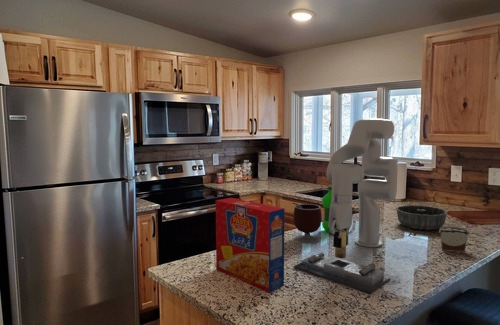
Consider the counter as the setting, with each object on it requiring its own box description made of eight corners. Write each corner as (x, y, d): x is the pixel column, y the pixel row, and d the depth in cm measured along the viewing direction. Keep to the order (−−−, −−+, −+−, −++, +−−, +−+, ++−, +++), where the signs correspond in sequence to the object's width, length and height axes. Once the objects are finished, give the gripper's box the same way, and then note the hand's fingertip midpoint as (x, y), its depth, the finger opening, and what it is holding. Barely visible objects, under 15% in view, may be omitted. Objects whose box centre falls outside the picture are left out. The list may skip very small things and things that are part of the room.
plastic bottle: (332, 235, 183) (333, 188, 181) (317, 230, 192) (318, 185, 189) (344, 232, 189) (345, 186, 187) (329, 227, 197) (330, 184, 195)
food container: (464, 247, 164) (465, 226, 163) (468, 252, 158) (469, 230, 157) (435, 245, 167) (436, 225, 166) (438, 249, 161) (439, 228, 160)
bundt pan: (387, 226, 202) (387, 209, 201) (407, 218, 219) (408, 202, 218) (435, 236, 182) (436, 217, 181) (453, 227, 199) (454, 209, 198)
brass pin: (338, 254, 136) (339, 228, 135) (347, 256, 133) (348, 230, 132) (333, 256, 133) (333, 230, 132) (342, 259, 130) (343, 233, 129)
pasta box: (216, 269, 138) (215, 200, 136) (231, 264, 144) (231, 197, 141) (268, 293, 118) (269, 212, 116) (283, 285, 124) (284, 208, 121)
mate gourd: (311, 234, 185) (312, 197, 183) (326, 242, 172) (327, 202, 170) (285, 238, 179) (285, 199, 177) (299, 246, 166) (300, 205, 164)
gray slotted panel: (316, 257, 151) (317, 244, 150) (390, 279, 128) (390, 264, 128) (294, 268, 139) (294, 253, 139) (370, 294, 117) (370, 277, 116)
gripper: (344, 194, 140) (343, 239, 141) (320, 200, 128) (319, 248, 129) (361, 197, 135) (360, 243, 136) (339, 203, 123) (337, 253, 124)
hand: (340, 245), depth 133 cm, fingers closed on brass pin, 4 cm apart
